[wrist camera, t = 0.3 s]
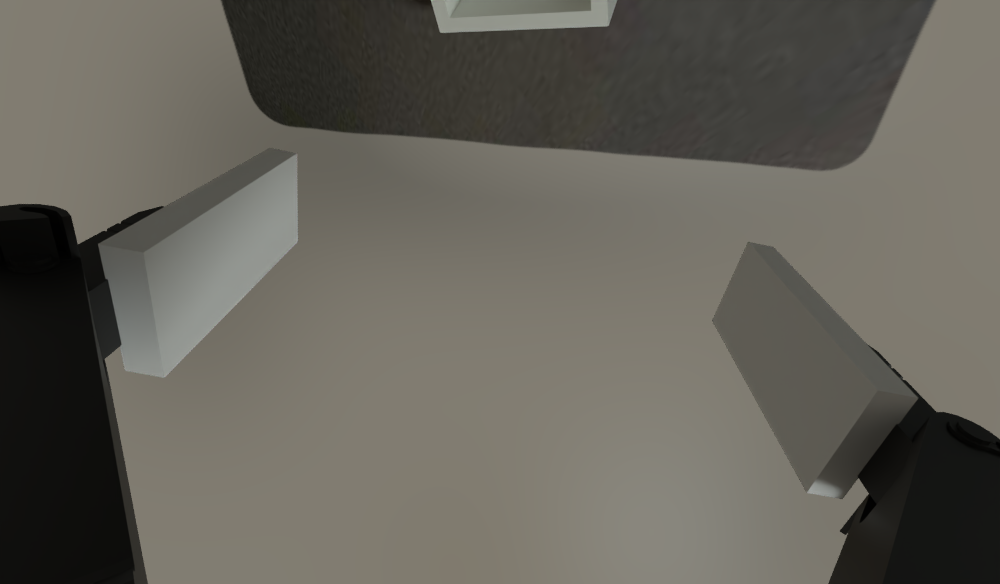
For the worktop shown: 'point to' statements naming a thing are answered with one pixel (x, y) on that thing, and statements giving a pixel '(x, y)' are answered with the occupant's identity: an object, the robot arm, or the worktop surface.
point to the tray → (520, 14)
